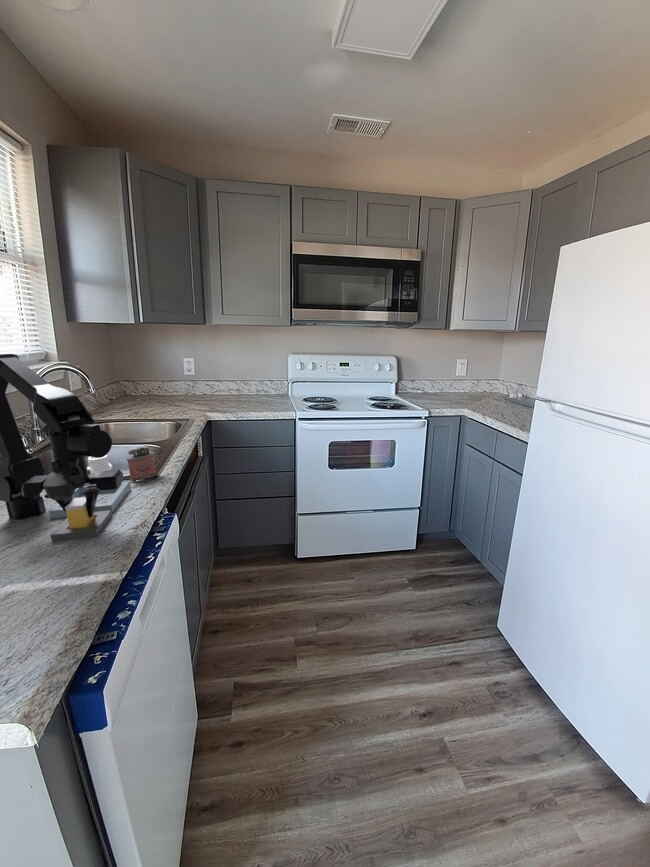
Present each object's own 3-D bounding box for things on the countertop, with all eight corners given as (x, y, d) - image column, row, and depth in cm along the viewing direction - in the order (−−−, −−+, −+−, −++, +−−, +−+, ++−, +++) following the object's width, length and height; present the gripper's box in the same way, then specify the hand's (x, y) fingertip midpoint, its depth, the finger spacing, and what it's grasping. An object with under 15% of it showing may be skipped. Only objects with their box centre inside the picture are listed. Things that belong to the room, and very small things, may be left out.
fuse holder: (52, 545, 86) (50, 534, 85) (72, 523, 95) (70, 514, 95) (97, 540, 87) (95, 530, 87) (112, 519, 97) (111, 510, 96)
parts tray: (51, 522, 96) (48, 510, 96) (78, 495, 112) (76, 485, 111) (113, 516, 99) (111, 505, 98) (131, 491, 114) (129, 481, 113)
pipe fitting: (110, 484, 119) (105, 459, 117) (84, 486, 118) (80, 460, 116) (118, 477, 125) (114, 452, 123) (94, 478, 124) (90, 454, 122)
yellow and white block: (70, 534, 88) (65, 507, 87) (79, 523, 93) (74, 497, 92) (87, 532, 89) (82, 505, 87) (95, 521, 94) (91, 496, 92)
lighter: (153, 473, 128) (149, 443, 125) (158, 475, 126) (154, 445, 123) (128, 480, 122) (123, 449, 119) (133, 483, 120) (128, 451, 117)
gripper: (-2, 468, 77) (16, 540, 81) (102, 460, 80) (114, 530, 84) (28, 451, 88) (43, 515, 92) (119, 445, 91) (129, 507, 95)
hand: (81, 517), depth 90 cm, fingers closed on yellow and white block, 3 cm apart
